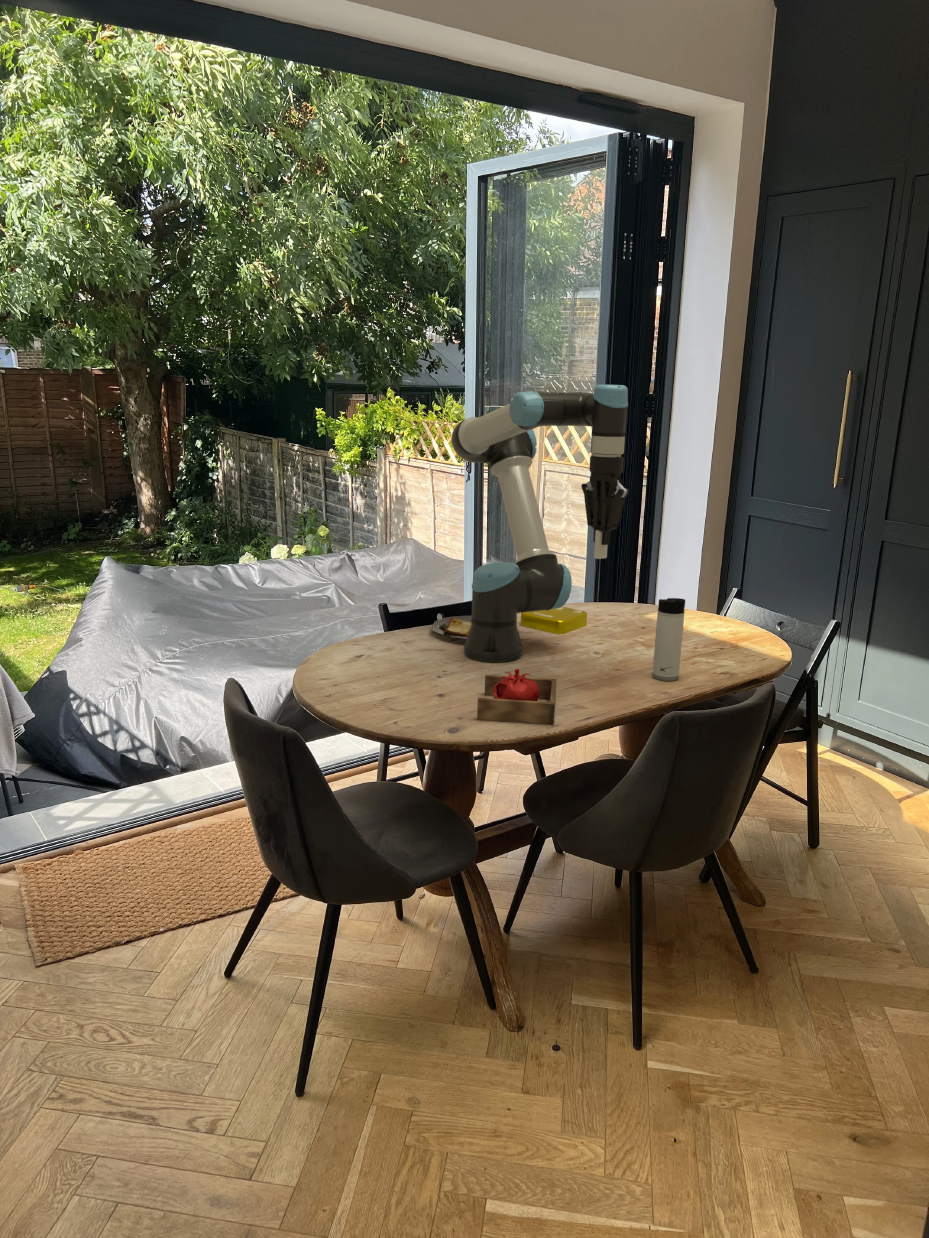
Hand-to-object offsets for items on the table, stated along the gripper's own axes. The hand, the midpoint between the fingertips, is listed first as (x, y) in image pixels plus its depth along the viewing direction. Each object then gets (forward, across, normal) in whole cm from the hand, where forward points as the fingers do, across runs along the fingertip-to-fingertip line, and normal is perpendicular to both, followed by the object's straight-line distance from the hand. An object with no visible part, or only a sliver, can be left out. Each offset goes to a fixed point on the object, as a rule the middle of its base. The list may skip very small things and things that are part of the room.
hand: (600, 557), depth 206 cm
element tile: (+30, +40, -25) cm, 56 cm away
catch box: (+29, -5, +29) cm, 42 cm away
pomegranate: (+30, -5, +29) cm, 42 cm away
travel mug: (+30, -10, -15) cm, 35 cm away
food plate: (+30, +46, 0) cm, 55 cm away
